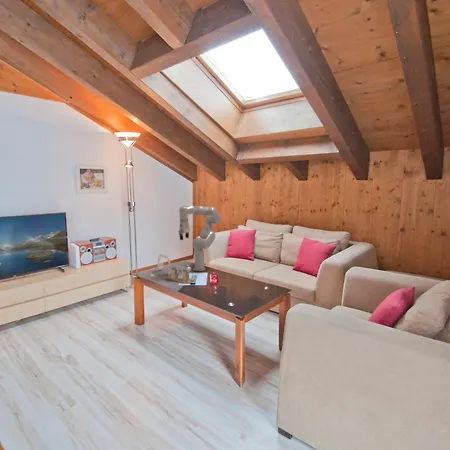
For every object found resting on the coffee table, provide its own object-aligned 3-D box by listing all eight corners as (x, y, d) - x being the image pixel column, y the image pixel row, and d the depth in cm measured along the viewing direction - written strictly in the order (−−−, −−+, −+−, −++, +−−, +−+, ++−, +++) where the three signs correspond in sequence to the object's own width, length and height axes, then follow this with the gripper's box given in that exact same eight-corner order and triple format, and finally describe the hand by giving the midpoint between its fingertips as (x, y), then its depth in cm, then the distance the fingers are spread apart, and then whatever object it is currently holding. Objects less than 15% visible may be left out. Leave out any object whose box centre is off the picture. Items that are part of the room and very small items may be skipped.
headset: (173, 274, 308) (172, 255, 305) (166, 275, 303) (166, 257, 300) (162, 269, 323) (161, 252, 320) (155, 271, 318) (155, 253, 315)
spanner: (167, 269, 291) (167, 266, 291) (171, 267, 296) (171, 264, 296) (189, 272, 282) (188, 268, 282) (192, 270, 287) (192, 267, 287)
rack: (172, 276, 300) (171, 264, 298) (195, 280, 290) (194, 267, 288) (165, 280, 291) (165, 267, 289) (189, 283, 281) (188, 270, 279)
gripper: (182, 222, 288) (182, 241, 291) (192, 219, 304) (192, 237, 306) (175, 221, 291) (175, 240, 294) (185, 218, 307) (185, 236, 309)
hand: (184, 238), depth 300 cm, fingers open, 9 cm apart
